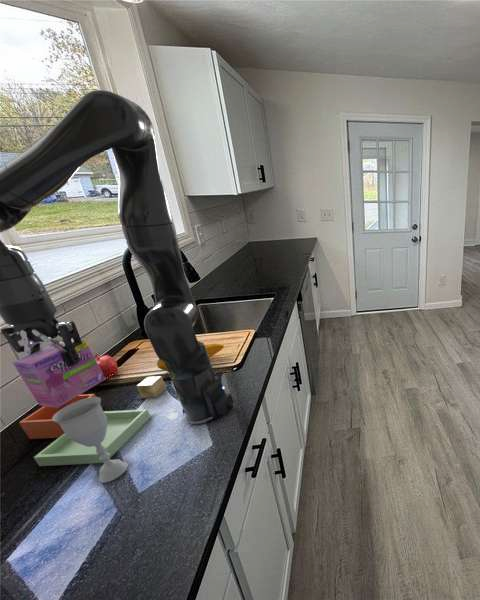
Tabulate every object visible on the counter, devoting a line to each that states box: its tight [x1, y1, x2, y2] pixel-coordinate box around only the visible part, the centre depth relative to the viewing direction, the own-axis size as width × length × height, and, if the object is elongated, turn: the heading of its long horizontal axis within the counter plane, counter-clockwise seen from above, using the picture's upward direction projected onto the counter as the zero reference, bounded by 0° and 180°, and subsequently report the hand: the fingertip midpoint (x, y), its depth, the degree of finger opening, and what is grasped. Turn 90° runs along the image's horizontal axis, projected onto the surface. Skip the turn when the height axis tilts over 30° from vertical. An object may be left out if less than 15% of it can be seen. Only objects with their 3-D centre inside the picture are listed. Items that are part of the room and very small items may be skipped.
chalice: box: [52, 396, 129, 484], centre depth 67 cm, size 7×7×18 cm
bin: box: [18, 393, 104, 440], centre depth 84 cm, size 10×10×6 cm
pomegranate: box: [92, 353, 119, 382], centre depth 104 cm, size 10×10×9 cm
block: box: [136, 375, 167, 399], centre depth 95 cm, size 4×4×4 cm
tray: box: [33, 408, 152, 467], centre depth 79 cm, size 16×15×3 cm
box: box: [12, 338, 107, 408], centre depth 72 cm, size 10×6×12 cm, turn 169°
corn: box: [156, 343, 225, 371], centre depth 109 cm, size 7×8×20 cm
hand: (59, 365), depth 71 cm, fingers closed on box, 6 cm apart
